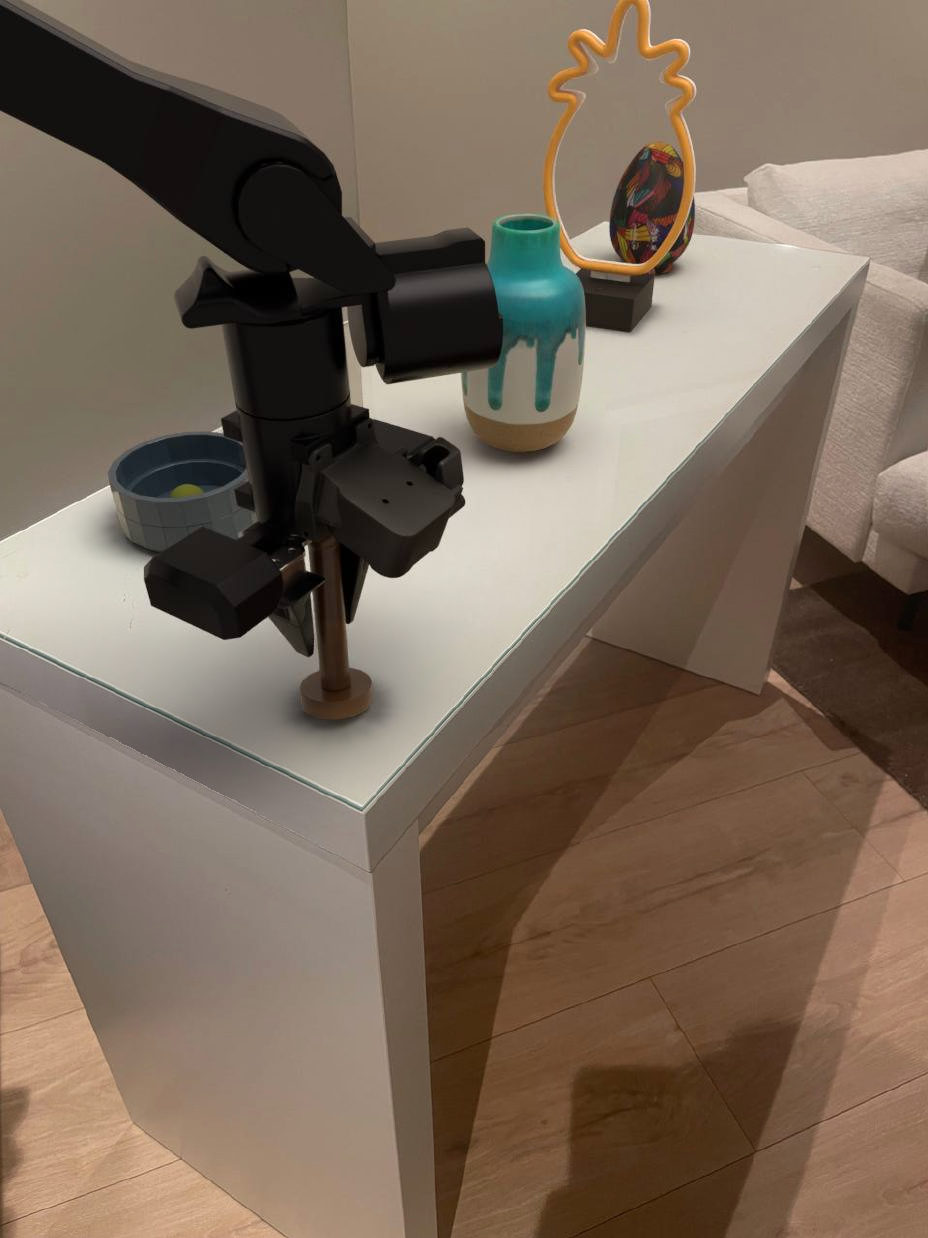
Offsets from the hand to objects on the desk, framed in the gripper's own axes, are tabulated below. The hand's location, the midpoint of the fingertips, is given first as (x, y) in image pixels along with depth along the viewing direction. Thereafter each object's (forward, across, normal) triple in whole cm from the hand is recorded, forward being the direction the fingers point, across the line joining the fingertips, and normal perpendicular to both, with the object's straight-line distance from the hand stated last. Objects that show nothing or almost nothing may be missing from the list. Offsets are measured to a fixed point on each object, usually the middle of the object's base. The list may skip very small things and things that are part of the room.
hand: (325, 637), depth 57 cm
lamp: (+5, +69, +16) cm, 71 cm away
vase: (+5, +36, +8) cm, 37 cm away
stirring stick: (+4, -1, -1) cm, 4 cm away
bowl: (+5, +10, +23) cm, 25 cm away
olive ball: (+3, +9, +22) cm, 24 cm away
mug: (+5, +27, +24) cm, 36 cm away
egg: (+5, +87, +19) cm, 89 cm away
